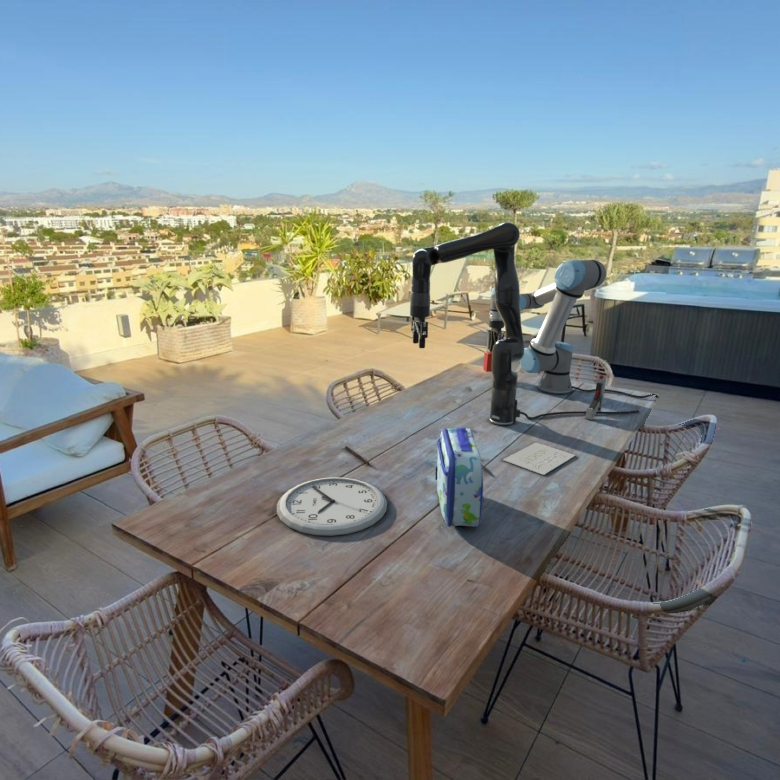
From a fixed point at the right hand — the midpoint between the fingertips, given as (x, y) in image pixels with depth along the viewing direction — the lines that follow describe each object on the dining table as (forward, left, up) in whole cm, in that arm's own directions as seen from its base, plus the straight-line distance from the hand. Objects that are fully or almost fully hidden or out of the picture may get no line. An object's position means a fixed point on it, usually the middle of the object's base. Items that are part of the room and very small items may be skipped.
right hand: (493, 365), depth 265 cm
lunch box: (+43, +128, -7) cm, 135 cm away
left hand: (+46, +55, +22) cm, 75 cm away
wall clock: (+77, +125, -7) cm, 147 cm away
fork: (+31, +101, -7) cm, 106 cm away
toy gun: (-28, +56, -7) cm, 63 cm away
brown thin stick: (+70, +94, -7) cm, 117 cm away
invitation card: (+9, +97, -7) cm, 97 cm away
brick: (0, 0, -3) cm, 3 cm away
